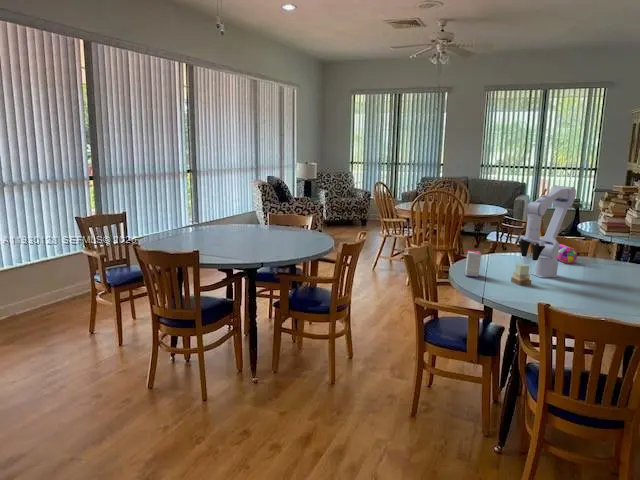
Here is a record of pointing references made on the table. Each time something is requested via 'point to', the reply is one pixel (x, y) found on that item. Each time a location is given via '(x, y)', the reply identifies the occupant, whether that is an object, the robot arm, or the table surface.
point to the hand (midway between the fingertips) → (529, 258)
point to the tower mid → (521, 276)
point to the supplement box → (472, 264)
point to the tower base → (520, 282)
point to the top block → (522, 269)
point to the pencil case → (566, 254)
